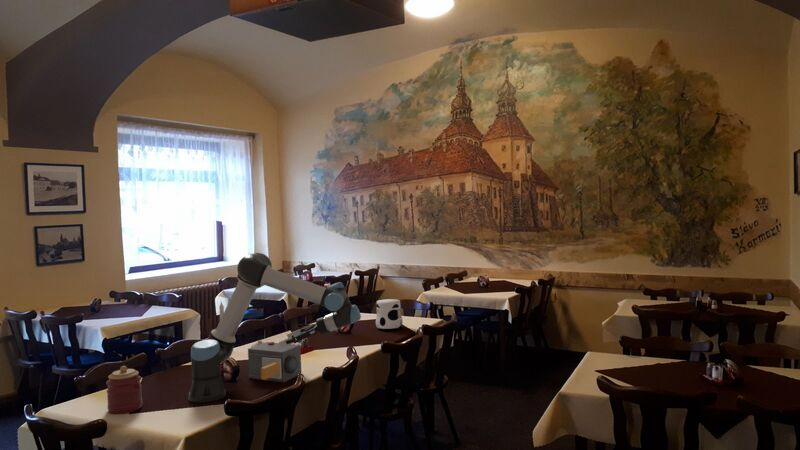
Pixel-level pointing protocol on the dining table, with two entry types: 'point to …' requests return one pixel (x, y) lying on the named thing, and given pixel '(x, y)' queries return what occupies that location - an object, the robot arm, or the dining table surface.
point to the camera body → (287, 354)
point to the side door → (271, 368)
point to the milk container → (388, 314)
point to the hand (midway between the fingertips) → (284, 340)
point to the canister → (124, 391)
